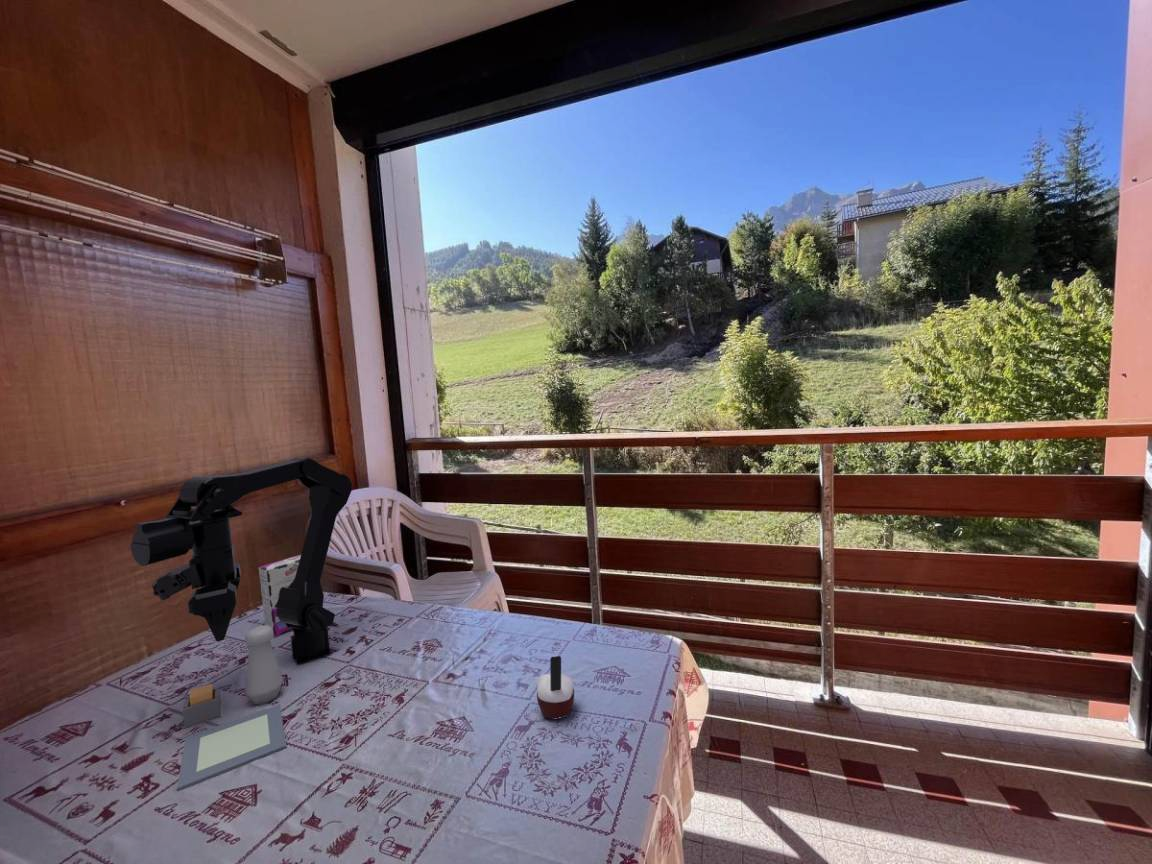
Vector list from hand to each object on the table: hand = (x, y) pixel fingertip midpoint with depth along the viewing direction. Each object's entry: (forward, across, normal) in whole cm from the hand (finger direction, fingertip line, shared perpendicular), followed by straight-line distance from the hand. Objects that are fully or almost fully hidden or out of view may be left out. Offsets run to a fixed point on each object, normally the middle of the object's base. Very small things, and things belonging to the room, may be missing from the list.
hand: (222, 630), depth 86 cm
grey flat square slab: (+13, +15, +1) cm, 20 cm away
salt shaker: (+13, +4, +5) cm, 15 cm away
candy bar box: (+14, -28, +11) cm, 33 cm away
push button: (+11, +3, -4) cm, 12 cm away
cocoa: (+14, +40, +46) cm, 62 cm away
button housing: (+13, +3, -4) cm, 14 cm away
